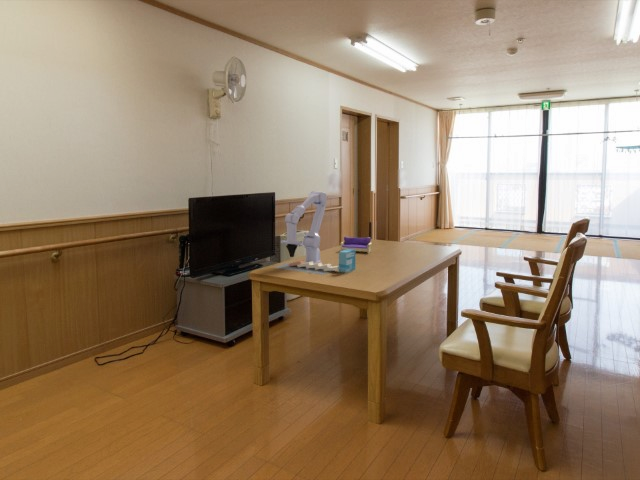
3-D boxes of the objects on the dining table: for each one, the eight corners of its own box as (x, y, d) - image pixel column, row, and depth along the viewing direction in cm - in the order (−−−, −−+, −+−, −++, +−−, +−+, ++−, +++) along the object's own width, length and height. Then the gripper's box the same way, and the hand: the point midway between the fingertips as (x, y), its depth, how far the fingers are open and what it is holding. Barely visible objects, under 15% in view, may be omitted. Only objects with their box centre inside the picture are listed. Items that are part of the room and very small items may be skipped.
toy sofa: (339, 252, 320) (340, 237, 318) (343, 250, 328) (343, 235, 326) (369, 254, 313) (369, 239, 312) (372, 251, 321) (372, 237, 320)
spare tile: (292, 262, 274) (304, 260, 269) (293, 265, 274) (304, 262, 269) (288, 263, 270) (300, 261, 265) (289, 266, 270) (300, 264, 265)
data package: (345, 273, 253) (345, 252, 251) (338, 272, 255) (338, 251, 254) (355, 269, 263) (355, 249, 261) (348, 268, 266) (348, 248, 264)
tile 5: (327, 266, 261) (340, 265, 257) (327, 269, 261) (340, 268, 257) (323, 268, 258) (336, 267, 253) (324, 271, 258) (336, 269, 253)
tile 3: (309, 264, 267) (321, 262, 263) (310, 267, 267) (322, 265, 263) (305, 266, 264) (317, 263, 259) (306, 268, 264) (318, 266, 259)
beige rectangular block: (301, 263, 270) (312, 261, 266) (301, 266, 270) (313, 263, 266) (297, 264, 267) (308, 262, 262) (297, 267, 267) (309, 265, 262)
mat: (289, 263, 281) (289, 262, 281) (338, 269, 263) (338, 268, 263) (273, 268, 266) (273, 267, 266) (323, 275, 249) (323, 274, 249)
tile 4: (318, 265, 264) (330, 263, 260) (319, 268, 264) (331, 266, 260) (314, 267, 261) (326, 264, 256) (315, 269, 261) (327, 267, 256)
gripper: (277, 233, 269) (278, 256, 271) (298, 235, 261) (298, 259, 264) (284, 232, 275) (284, 254, 277) (305, 234, 267) (305, 257, 269)
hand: (291, 256), depth 271 cm, fingers closed
